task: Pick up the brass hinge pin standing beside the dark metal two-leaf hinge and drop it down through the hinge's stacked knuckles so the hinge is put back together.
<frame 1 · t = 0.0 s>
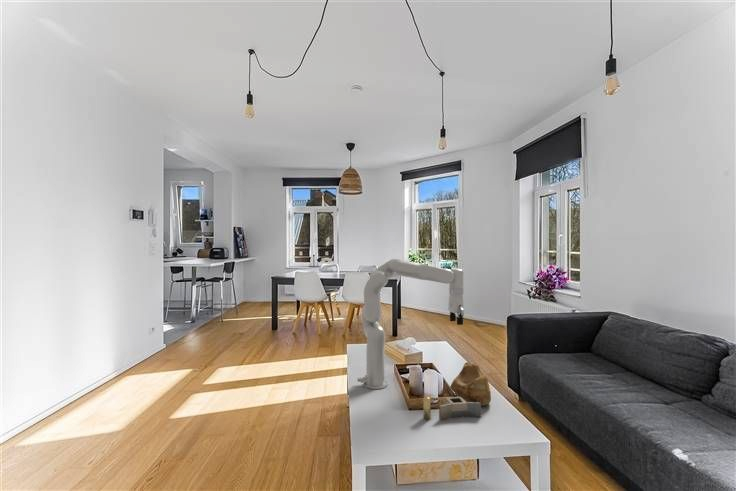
hand: (456, 322, 209), 31 cm above the table, tool pointing down, fingers open, 9 cm apart
hinge: (456, 414, 167), on the table
rough brown rock: (468, 399, 184), on the table
hinge pin: (427, 418, 162), on the table
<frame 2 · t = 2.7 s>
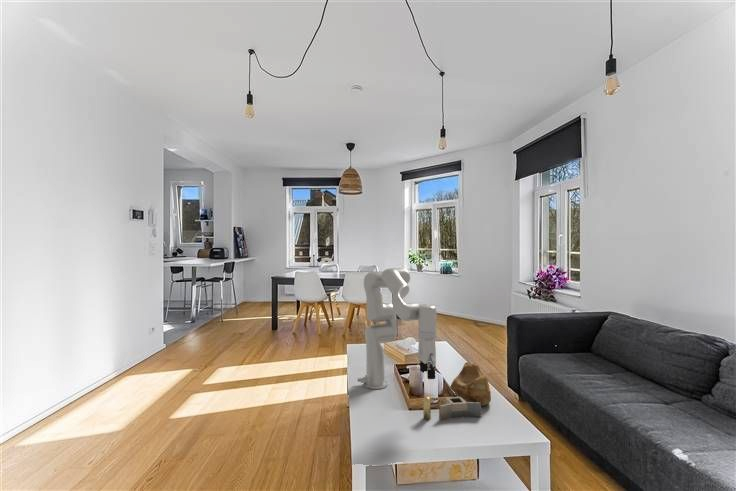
hand: (427, 375, 162), 18 cm above the table, tool pointing down, fingers open, 9 cm apart
nothing on the table moved.
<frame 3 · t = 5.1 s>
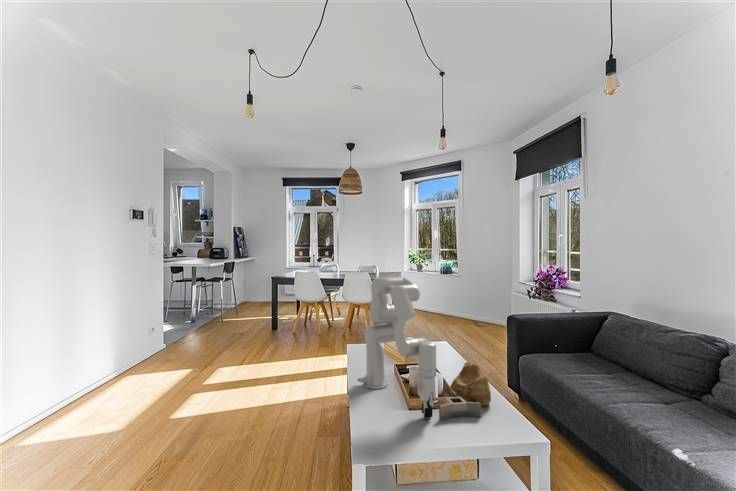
hand: (427, 414, 162), 2 cm above the table, tool pointing down, fingers closed on hinge pin, 3 cm apart
hinge pin: (427, 418, 162), on the table, touching gripper
everything else where it was.
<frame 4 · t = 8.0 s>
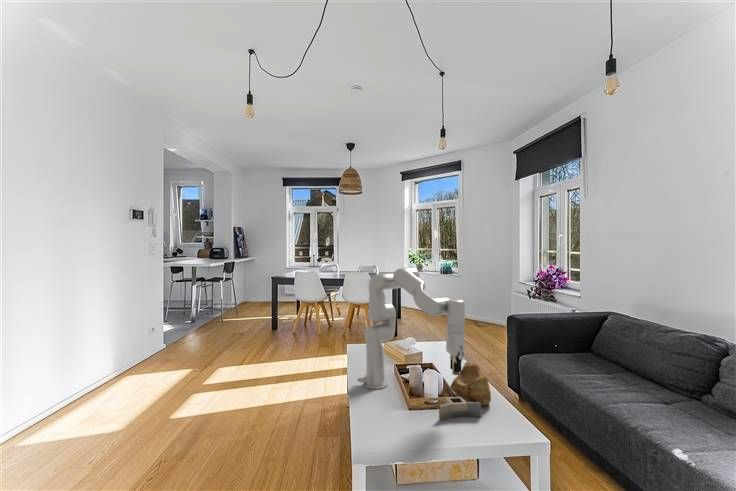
hand: (455, 370, 167), 19 cm above the table, tool pointing down, fingers closed on hinge pin, 3 cm apart
hinge pin: (455, 373, 167), point 18 cm above the table, touching gripper
everything else where it was.
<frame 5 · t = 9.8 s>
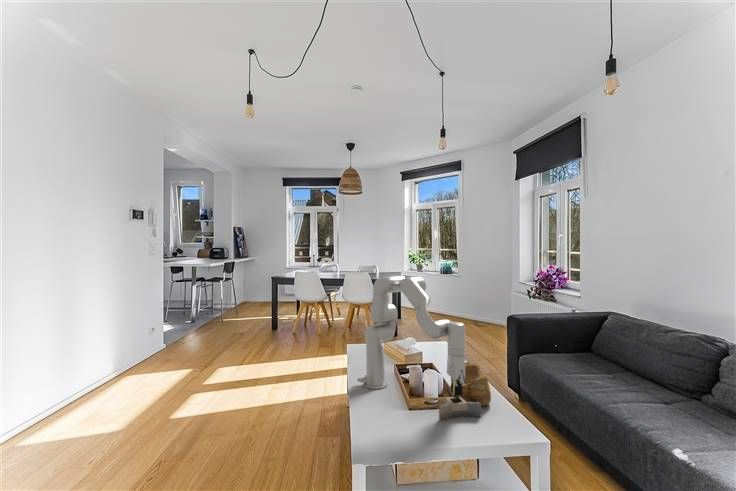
hand: (456, 392, 167), 9 cm above the table, tool pointing down, fingers closed on hinge pin, 3 cm apart
hinge pin: (456, 396, 167), point 8 cm above the table, touching gripper
everything else where it was.
when the fingers open (7 cm above the table, at t = 10.9 s): hinge pin drops 5 cm, resting in hinge.
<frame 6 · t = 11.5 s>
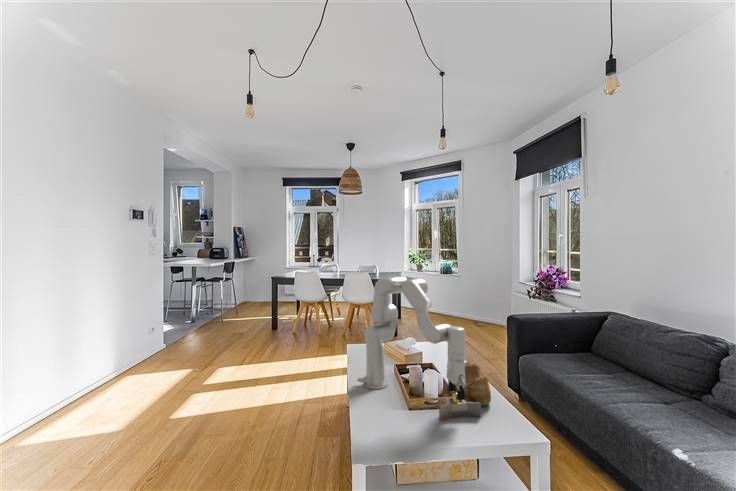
hand: (456, 395, 167), 8 cm above the table, tool pointing down, fingers open, 9 cm apart
hinge pin: (456, 413, 167), resting in hinge
everything else where it was.
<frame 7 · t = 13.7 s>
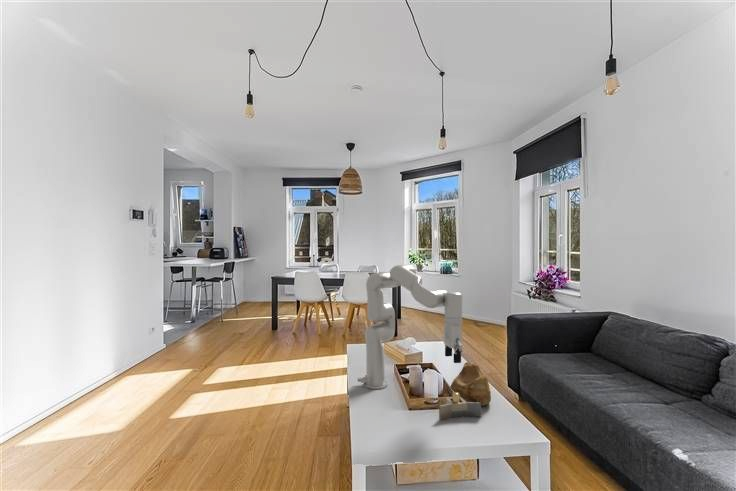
hand: (452, 359, 168), 23 cm above the table, tool pointing down, fingers open, 9 cm apart
nothing on the table moved.
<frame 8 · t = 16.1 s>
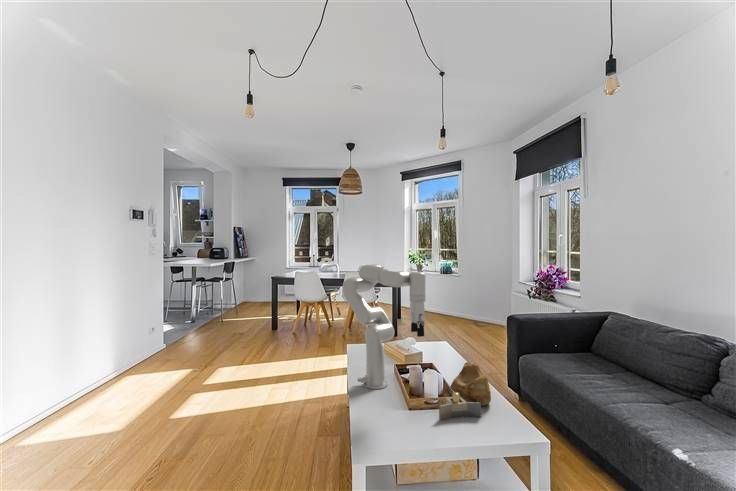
hand: (417, 333, 182), 31 cm above the table, tool pointing down, fingers open, 9 cm apart
nothing on the table moved.
at the end: hinge pin 0.2 cm off-centre on the hinge, point 0.0 cm above the hinge's base; hinge pin tilted 0°; the gripper is holding nothing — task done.
